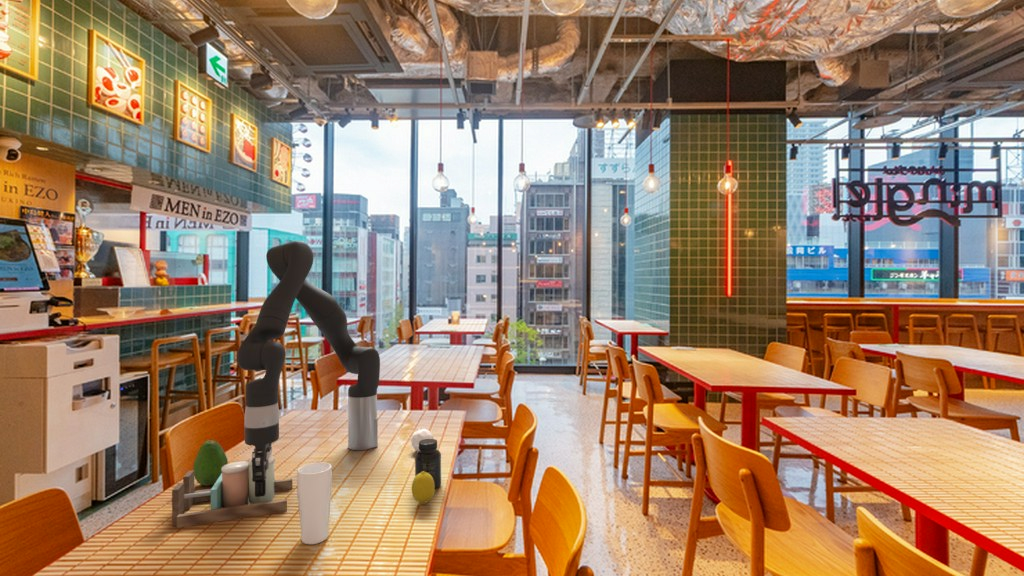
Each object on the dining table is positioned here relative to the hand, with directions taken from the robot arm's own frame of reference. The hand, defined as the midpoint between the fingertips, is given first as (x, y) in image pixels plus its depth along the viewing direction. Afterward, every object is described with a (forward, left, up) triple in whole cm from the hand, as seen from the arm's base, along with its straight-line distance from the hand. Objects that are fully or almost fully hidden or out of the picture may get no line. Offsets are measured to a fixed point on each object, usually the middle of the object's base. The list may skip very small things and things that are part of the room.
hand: (262, 490), depth 116 cm
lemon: (-37, +15, -3) cm, 40 cm away
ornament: (-43, -23, -3) cm, 49 cm away
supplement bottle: (-40, +5, -3) cm, 41 cm away
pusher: (+13, 0, -3) cm, 14 cm away
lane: (+5, 0, -3) cm, 6 cm away
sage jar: (0, 0, -2) cm, 2 cm away
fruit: (+15, -17, -3) cm, 23 cm away
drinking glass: (-13, +23, -3) cm, 27 cm away
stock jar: (+6, 0, -3) cm, 7 cm away
